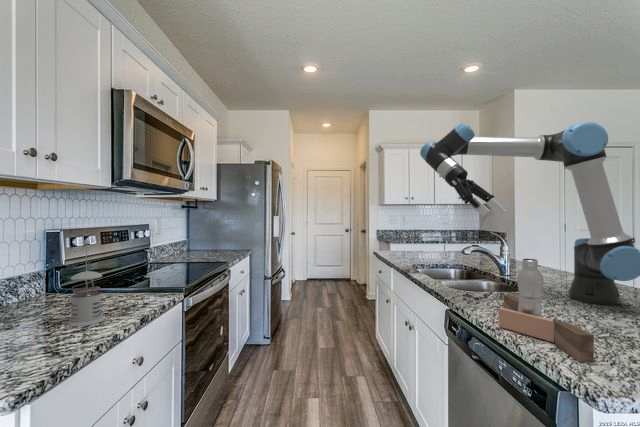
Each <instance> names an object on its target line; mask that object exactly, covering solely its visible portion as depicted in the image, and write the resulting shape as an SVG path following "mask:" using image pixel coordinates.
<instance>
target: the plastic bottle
mask: <svg viewBox="0 0 640 427" xmlns="http://www.w3.org/2000/svg"><path fill="white" fill-rule="evenodd" d="M538 262H539V261H538V259H536V258H522V263H521V264H522V265H521V266H522V268H521V269H520V270H519V272H518V273H517V275H516V282H517V289H518V297H519V305H518V312H522V313H526V314H530V315H534V316H539V317H543V315H542V313H543V312H542V292H543V289H544V288H543V287H544V283H545V282H544V281H545V280H544V276H543V274H542V273H541V272H540V271H539V269H538V267H539V263H538Z"/></svg>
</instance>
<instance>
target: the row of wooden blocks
mask: <svg viewBox="0 0 640 427" xmlns="http://www.w3.org/2000/svg"><path fill="white" fill-rule="evenodd" d="M518 305H519V296H516V295H514V294H503V308H505V309H509V310H514V311H518ZM554 347H557V348H558V349H560V350H561V351H562V352H564V353H565V354H567V355H569V356H570V357H571V358H573V359H575V360H577V362H581V363H585V362H586V363H594V361H595V358H594V357H595V356H594V355H595V353H594V351H595V335H594V334H592V333H590V332H589V331H586V330H584V329H582V328H580V327H579V326H576V325H574V324H573V323H570V322H567V321H562V322H555V343H554Z"/></svg>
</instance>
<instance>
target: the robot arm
mask: <svg viewBox="0 0 640 427" xmlns="http://www.w3.org/2000/svg"><path fill="white" fill-rule="evenodd" d="M608 143H609V134H608V132H607V131H606V129H605V128H604V127H603V126H602V125H600V124H598V123H596V122H593V121H582V122H577V123H575V124H573V125H570V126H568V127H566V128H565V129H563V130H562V131H560V132H557V133H553V134H540V135H539V136H537V137H522V136H520V137H519V136H517V137H516V136H515V137H514V136H510V137H509V136H476V133H475V132H474V129H472V128H471V126H470V125H469V124H467V123H465V122H461V123H459V124H458V125H455V127H454V128H453V129H451V131H449V132H448V133H447V134H445V136H443V138H441V139H440V140H438V142H436V141H434V140H431V141H429V142H426V143H425V144H424V145H423V146H422V147H421V149H420V153H419V154H420V157H421V158H422V159H423V160H424V161H425V163H427V165H429V166H430V168H432V169H433V170H434V171H435V172H436V173H437V174H438V177H439V178H442V179H443V180H444V181H445V182H446V183H447V184H448V185H449V186H450V187H451V188H454V190H455V191H456V193H457V194H458V196H459V197H460V199H461V200H462V201H463V203H464V204H466V205H468V204H469V205H470V206H471V207H472V208H474V210H475V211H477V212H478V214H479V215H480V216H481V217H483V218H484V217H485V216H486V215H488V214H489V212H490V210H489V209H488V207H489V208H491V210H493V212H494V213H496V214H497V215H498V216H499V217H501V216H502V215H504V214H505V213H506V212H507V210H506V209H505V208H504V207H503V206H502V205H501V204H500V203H498V201H496V200H495V199H494V198H495V195H494V194H491V193H490V192H488V191H487V190H485V189H484V188H483V187H481V186H480V185H478V184H477V183H476V182H475V181H474V180H471V179H467V177H468V171H467V170H466V169H465V168H464V167H463V166H461V164H459V163H458V162H457V161H456V160H455V159H454V158H453V157H454V156H457V155H459V156H465V155H466V156H467V155H468V156H488V157H489V156H491V157H493V156H494V157H517V158H518V157H519V158H534V159H535V160H537V161H545V162H546V161H548V162H558V163H560V162H561V163H563V166H564V169H566V170H568V171H570V172H571V175H572V177H573V181H574V184H575V185H574V186H575V187H576V191H577V194H578V199H579V202H580V205H581V208H582V212H583V215H584V218H585V221H586V225H587V228H588V232H589V236H590V238H577V239H575V241H574V244H573V245H574V246H573V252H574V255H573V258H574V259H573V260H574V262H573V263H574V264H573V266H574V267H573V270H574V274H573V275H574V276H573V279H572V282H571V284H570V286H569V289H568V297H569V298H570V299H573V300H576V301H579V302H584V303H590V304H596V305H609V306H612V305H613V306H614V305H620V304H621V295H620V293H619V290H618V288H617V284H616V282H615V281H620V282H630V281H634V280H635V279H637V278H639V277H640V249H638V248H636V247H635V245H634V241H633V238H632V236H631V235H629V234H627V233H625V232H624V229H623V226H622V223H621V220H620V217H619V213H618V210H617V207H616V204H615V201H614V197H613V193H612V190H611V187H610V184H609V180H608V176H607V174H606V170H605V167H604V162H605V160H606V159H607V154H606V150H605V148H606V147H607V145H608ZM452 156H453V157H452ZM474 196H476V197H474ZM477 197H478V198H479V199H480V200H482V201H483V202H485V203H486V205H487V206H488V207H487V206H486V205H485V204H483V202H481V201H480V200H479V199H478V198H477ZM477 212H476V213H477Z"/></svg>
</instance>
